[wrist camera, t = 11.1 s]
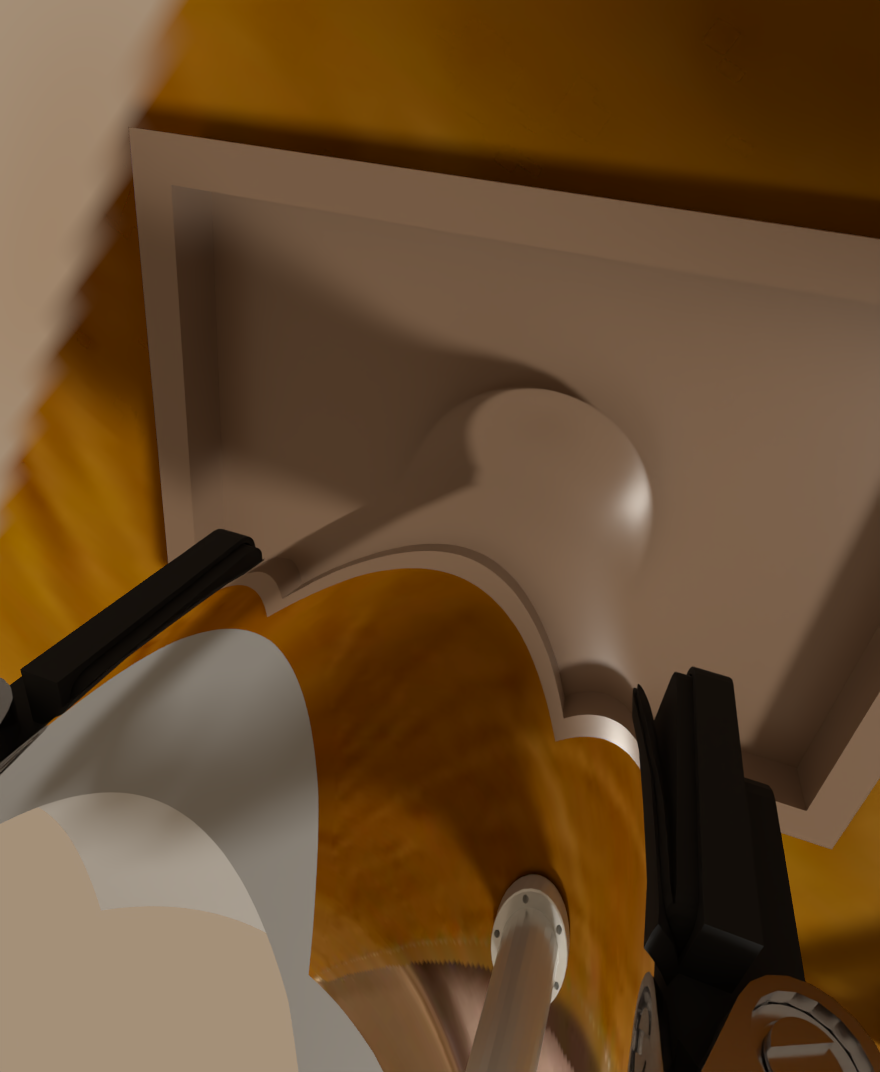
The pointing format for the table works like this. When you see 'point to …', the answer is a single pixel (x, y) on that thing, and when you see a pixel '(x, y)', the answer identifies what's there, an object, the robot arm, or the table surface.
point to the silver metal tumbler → (368, 793)
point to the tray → (555, 364)
